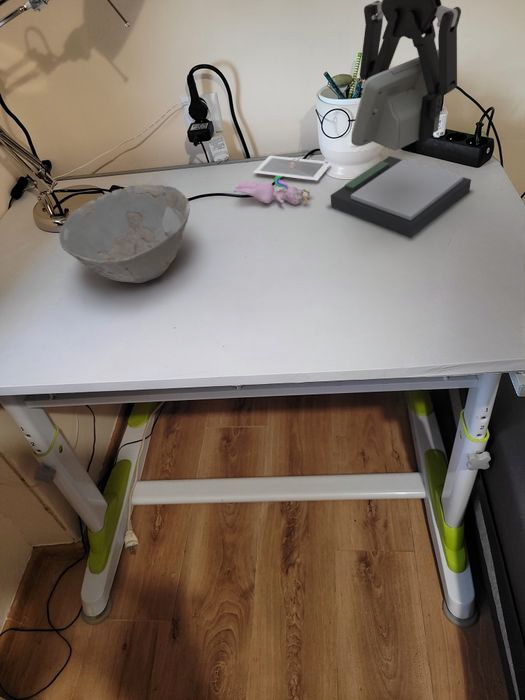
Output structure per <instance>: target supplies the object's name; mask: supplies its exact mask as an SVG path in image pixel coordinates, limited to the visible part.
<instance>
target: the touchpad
mask: <svg viewBox="0 0 525 700" xmlns="http://www.w3.org/2000/svg"><path fill="white" fill-rule="evenodd" d="M324 161H325V160H316V159H307V158H296V157H289V156H278V155H269V156H267V158H266V159H265V160H263V161H262V163H260V165H259V166H258V167H257V168H256V169H255V170H254V171H253V172H252V173H253V174H254V173H255V174H261V175H269V176H282V177H286V178H294V179H301V180H311V181H319V180H320V178H321V177H322V176H323V174H324V173H325V172H326V171H327V170H328V168H327V167H325V164H324Z"/></svg>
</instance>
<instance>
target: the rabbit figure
mask: <svg viewBox="0 0 525 700" xmlns="http://www.w3.org/2000/svg"><path fill="white" fill-rule="evenodd" d="M281 178H283V176H277V175H275V177H274V178H273V183H274V184H275V186H276V187H278V188H280V189H279V190H275V187H274V185H273V184H272V183H270V182H268V181H261V182H255V181H249V180H248V181H243V182H241V183H239V184H237V185H236V186H234V190H233V193H242V194H245V195H248V196H251V197H254V198H256V200H258V201H259V202H262V203H263V204H264V203H265V204H270V203H271V202H273V201H275V199H277V201H278V202H279V203H281V204H284V202H285V201H287V202H288V203H290V204H292V205H294V206H296V205H297V206H298V205H300V203H301V201H302V200H305V205H306V206H308V200H309V198H310V195H311V192H310V191H311V190H310V189H308V190H306V189H305V188H303V189H299V188H298V187H296V186H290V185H289V184H288V183H287V182H285V181H284V180H282V179H281ZM304 193H306V194H307V196H306V197H305V196H303V195H304Z"/></svg>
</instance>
